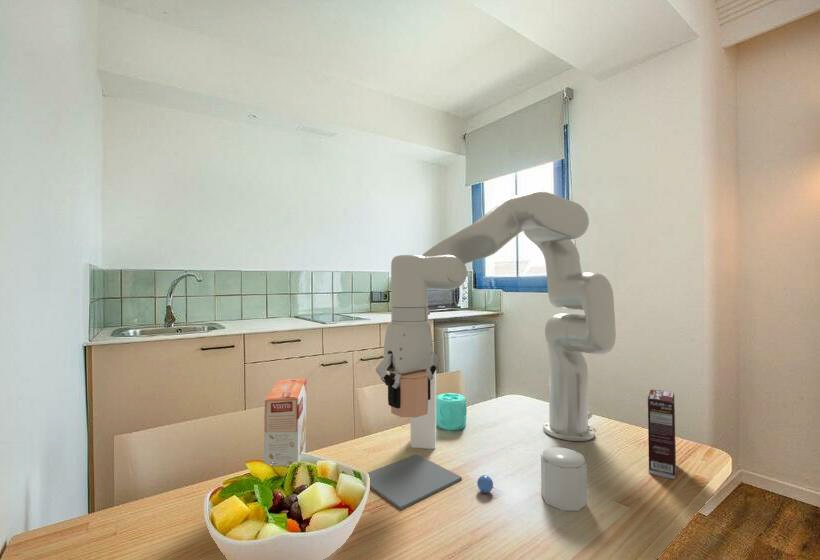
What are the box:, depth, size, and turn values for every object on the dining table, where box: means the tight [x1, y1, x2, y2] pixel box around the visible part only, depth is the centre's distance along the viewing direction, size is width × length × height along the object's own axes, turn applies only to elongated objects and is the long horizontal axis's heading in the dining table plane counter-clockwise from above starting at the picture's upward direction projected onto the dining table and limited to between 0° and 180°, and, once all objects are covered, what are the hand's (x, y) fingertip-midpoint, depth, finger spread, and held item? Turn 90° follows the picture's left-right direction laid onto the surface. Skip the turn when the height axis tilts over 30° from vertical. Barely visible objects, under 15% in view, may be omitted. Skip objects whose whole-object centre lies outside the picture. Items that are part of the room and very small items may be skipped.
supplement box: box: [647, 389, 677, 480], centre depth 83 cm, size 9×5×16 cm, turn 145°
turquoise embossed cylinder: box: [436, 392, 468, 432], centre depth 108 cm, size 8×8×8 cm
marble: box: [476, 474, 494, 494], centre depth 74 cm, size 3×3×3 cm
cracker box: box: [263, 378, 307, 467], centre depth 71 cm, size 14×6×21 cm, turn 9°
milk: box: [409, 370, 437, 450], centre depth 96 cm, size 6×6×22 cm
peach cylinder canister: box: [390, 370, 428, 418], centre depth 78 cm, size 7×7×8 cm
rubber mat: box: [367, 453, 463, 511], centre depth 78 cm, size 16×14×1 cm
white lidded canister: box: [540, 446, 588, 512], centre depth 71 cm, size 7×7×8 cm
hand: (409, 401), depth 78 cm, fingers closed on peach cylinder canister, 7 cm apart
